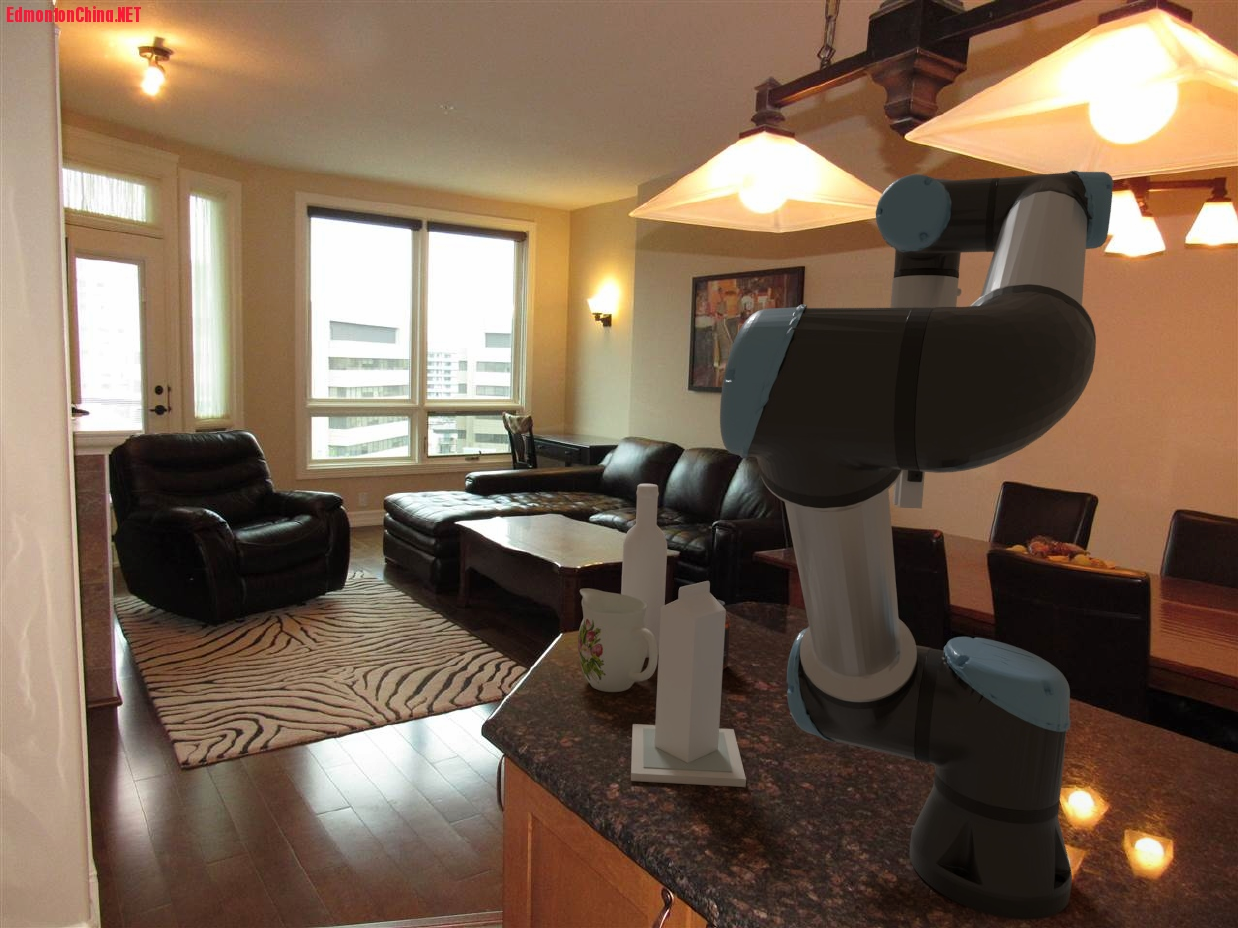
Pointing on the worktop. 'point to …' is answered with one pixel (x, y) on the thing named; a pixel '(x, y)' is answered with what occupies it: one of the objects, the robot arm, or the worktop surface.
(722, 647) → the milk
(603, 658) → the pitcher
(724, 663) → the supplement bottle
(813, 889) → the worktop surface
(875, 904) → the worktop surface
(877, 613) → the robot arm
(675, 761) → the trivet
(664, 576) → the bottle
